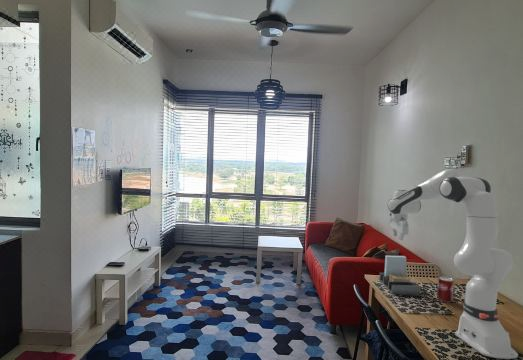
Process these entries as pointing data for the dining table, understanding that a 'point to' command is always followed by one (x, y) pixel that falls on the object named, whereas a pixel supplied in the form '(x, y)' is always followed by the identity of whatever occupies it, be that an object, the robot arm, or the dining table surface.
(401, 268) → the acrylic sheet
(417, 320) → the dining table surface
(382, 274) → the rack
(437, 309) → the dining table surface
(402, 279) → the offcut front
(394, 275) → the offcut back
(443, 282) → the soda can
